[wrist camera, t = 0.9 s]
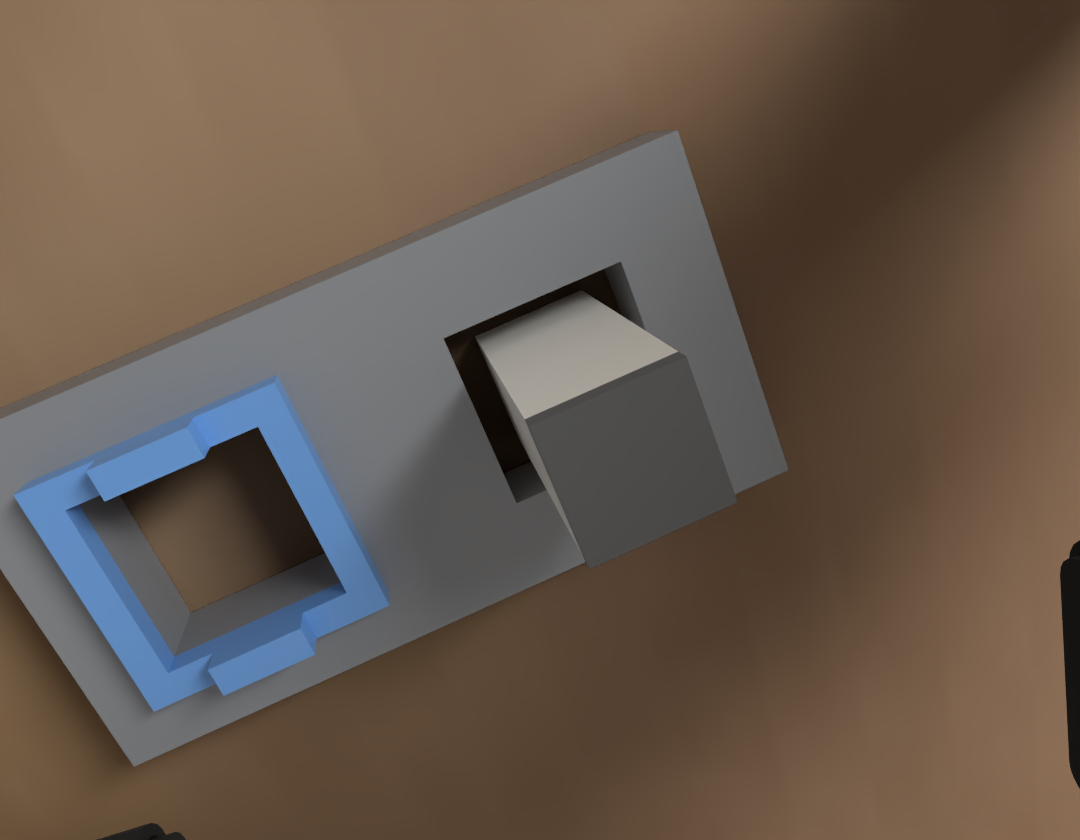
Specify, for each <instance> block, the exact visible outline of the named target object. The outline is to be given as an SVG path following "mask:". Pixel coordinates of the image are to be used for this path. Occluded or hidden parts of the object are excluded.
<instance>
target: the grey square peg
mask: <svg viewBox="0 0 1080 840" xmlns="http://www.w3.org/2000/svg"><path fill="white" fill-rule="evenodd" d="M475 338H476V340H477V343H478V345H479V347H480V350H481V352H482V354H483V356H484V359H485V361H486V363H487V366H488V368H489V370H490V373H491V375H492V377H493V380H494V382H495V384H496V387H497V389H498V391H499V394H500V396H501V398H502V401H503V403H504V405H505V408H506V410H507V412H508V414H509V417H510V419H511V421H512V424H513V426H514V428H515V431H516V433H517V435H518V438H519V440H520V441H521V443H522V445H523V447H524V449H525V451H526V452H527V454H528V456H529V458H530V460H531V462H532V464H533V465H534V467H535V469H536V471H537V473H538V475H539V477H540V478H541V480H542V482H543V484H544V486H545V488H546V490H547V491H548V493H549V495H550V497H551V499H552V501H553V502H554V504H555V506H556V508H557V510H558V512H559V514H560V515H561V517H562V519H563V521H564V523H565V525H566V527H567V528H568V530H569V532H570V534H571V536H572V538H573V540H574V541H575V543H576V545H577V547H578V549H579V551H580V552H581V554H582V556H583V558H584V560H585V562H586V564H587V565H588V567H589V569H592V568H594V567H597V566H599V565H601V564H603V563H605V562H608V561H610V560H612V559H614V558H616V557H619V556H621V555H623V554H625V553H627V552H630V551H632V550H634V549H636V548H638V547H641V546H643V545H645V544H647V543H649V542H652V541H654V540H656V539H658V538H660V537H663V536H665V535H667V534H669V533H671V532H674V531H676V530H678V529H680V528H682V527H685V526H687V525H689V524H691V523H693V522H696V521H698V520H700V519H702V518H704V517H707V516H709V515H711V514H713V513H716V512H718V511H720V510H722V509H724V508H727V507H729V506H731V505H733V504H735V503H738V501H737V499H736V496H735V493H734V490H733V487H732V484H731V482H730V479H729V476H728V473H727V470H726V467H725V465H724V462H723V459H722V456H721V453H720V450H719V447H718V445H717V442H716V439H715V436H714V433H713V430H712V428H711V425H710V422H709V419H708V416H707V413H706V411H705V408H704V405H703V402H702V399H701V396H700V393H699V391H698V388H697V385H696V382H695V379H694V376H693V374H692V371H691V368H690V365H689V362H688V359H687V357H686V356H685V355H683V354H681V353H680V352H678V351H677V350H675V349H674V348H672V347H670V346H669V345H667V344H666V343H664V342H663V341H661V340H659V339H658V338H656V337H655V336H653V335H651V334H650V333H648V332H647V331H645V330H644V329H642V328H640V327H639V326H637V325H636V324H634V323H633V322H631V321H629V320H628V319H626V318H625V317H623V316H621V315H620V314H618V313H617V312H615V311H614V310H612V309H610V308H609V307H607V306H606V305H604V304H603V303H601V302H599V301H598V300H596V299H595V298H593V297H592V296H590V295H588V294H587V293H585V292H584V291H582V290H580V291H578V292H576V293H573V294H571V295H569V296H566V297H564V298H562V299H560V300H557V301H555V302H553V303H550V304H548V305H546V306H544V307H541V308H539V309H537V310H534V311H532V312H530V313H527V314H525V315H523V316H521V317H518V318H516V319H514V320H511V321H509V322H507V323H504V324H502V325H500V326H498V327H495V328H493V329H491V330H488V331H486V332H484V333H481V334H479V335H477V336H475Z"/></svg>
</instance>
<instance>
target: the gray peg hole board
mask: <svg viewBox="0 0 1080 840" xmlns="http://www.w3.org/2000/svg"><path fill="white" fill-rule="evenodd" d="M602 269H605V272H606V275H607V278H608V280H609V283H610V286H611V288H612V291H613V294H614V296H615V299H616V302H617V304H618V307H619V310H620V313H621V315H622V316H623V317H625V318H626V319H628V320H629V321H631V322H633V323H634V324H636V325H637V326H639V327H640V328H642V329H644V330H645V331H647V332H648V333H650V334H651V335H653V336H655V337H656V338H658V339H659V340H661V341H663V342H664V343H666V344H667V345H669V346H670V347H672V348H674V349H675V350H677V351H678V352H680V353H681V354H683V355H685V356H686V357H687V359H688V362H689V365H690V368H691V371H692V374H693V376H694V379H695V382H696V385H697V388H698V391H699V393H700V396H701V399H702V402H703V405H704V408H705V411H706V413H707V416H708V419H709V422H710V425H711V428H712V430H713V433H714V436H715V439H716V442H717V445H718V447H719V450H720V453H721V456H722V459H723V462H724V465H725V467H726V470H727V473H728V476H729V479H730V482H731V484H732V487H733V490H734V493H735V494H737V493H739V492H741V491H744V490H746V489H748V488H750V487H752V486H755V485H757V484H759V483H761V482H763V481H766V480H768V479H770V478H772V477H774V476H777V475H779V474H781V473H783V472H785V471H788V466H787V463H786V460H785V457H784V454H783V451H782V448H781V445H780V442H779V439H778V436H777V433H776V430H775V427H774V424H773V421H772V417H771V414H770V411H769V408H768V405H767V402H766V399H765V396H764V393H763V390H762V387H761V384H760V381H759V378H758V375H757V372H756V369H755V365H754V362H753V359H752V356H751V353H750V350H749V347H748V344H747V341H746V338H745V335H744V332H743V329H742V326H741V323H740V320H739V316H738V313H737V310H736V307H735V304H734V301H733V298H732V295H731V292H730V289H729V286H728V283H727V280H726V277H725V274H724V271H723V267H722V264H721V261H720V258H719V255H718V252H717V249H716V246H715V243H714V240H713V237H712V234H711V231H710V228H709V225H708V222H707V218H706V215H705V212H704V209H703V206H702V203H701V200H700V197H699V194H698V191H697V188H696V185H695V182H694V179H693V176H692V173H691V170H690V166H689V163H688V160H687V157H686V154H685V151H684V148H683V145H682V142H681V139H680V136H679V133H678V130H671V131H657V132H648V133H645V134H643V135H641V136H638V137H636V138H634V139H631V140H629V141H627V142H624V143H622V144H620V145H617V146H615V147H613V148H610V149H608V150H606V151H603V152H601V153H599V154H596V155H594V156H592V157H589V158H587V159H584V160H582V161H580V162H577V163H575V164H573V165H570V166H568V167H566V168H563V169H561V170H559V171H556V172H554V173H552V174H549V175H547V176H545V177H542V178H540V179H538V180H535V181H533V182H531V183H528V184H526V185H523V186H521V187H519V188H516V189H514V190H512V191H509V192H507V193H505V194H502V195H500V196H498V197H495V198H493V199H491V200H488V201H486V202H484V203H481V204H479V205H477V206H474V207H472V208H470V209H467V210H465V211H462V212H460V213H458V214H455V215H453V216H451V217H448V218H446V219H444V220H441V221H439V222H437V223H434V224H432V225H430V226H427V227H425V228H423V229H420V230H418V231H416V232H413V233H411V234H409V235H406V236H404V237H401V238H399V239H397V240H394V241H392V242H390V243H387V244H385V245H383V246H380V247H378V248H376V249H373V250H371V251H369V252H366V253H364V254H362V255H359V256H357V257H355V258H352V259H350V260H347V261H345V262H343V263H340V264H338V265H336V266H333V267H331V268H329V269H326V270H324V271H322V272H319V273H317V274H315V275H312V276H310V277H308V278H305V279H303V280H301V281H298V282H296V283H294V284H291V285H289V286H286V287H284V288H282V289H279V290H277V291H275V292H272V293H270V294H268V295H265V296H263V297H261V298H258V299H256V300H254V301H251V302H249V303H247V304H244V305H242V306H240V307H237V308H235V309H233V310H230V311H228V312H225V313H223V314H221V315H218V316H216V317H214V318H211V319H209V320H207V321H204V322H202V323H200V324H197V325H195V326H193V327H190V328H188V329H186V330H183V331H181V332H179V333H176V334H174V335H172V336H169V337H167V338H164V339H162V340H160V341H157V342H155V343H153V344H150V345H148V346H146V347H143V348H141V349H139V350H136V351H134V352H132V353H129V354H127V355H125V356H122V357H120V358H118V359H115V360H113V361H111V362H108V363H106V364H103V365H101V366H99V367H96V368H94V369H92V370H89V371H87V372H85V373H82V374H80V375H78V376H75V377H73V378H71V379H68V380H66V381H64V382H61V383H59V384H57V385H54V386H52V387H49V388H47V389H45V390H42V391H40V392H38V393H35V394H33V395H31V396H28V397H26V398H24V399H21V400H19V401H17V402H14V403H12V404H10V405H7V406H5V407H3V408H0V569H1V571H2V572H3V574H4V575H5V577H6V578H7V580H8V581H9V583H10V584H11V586H12V587H13V589H14V590H15V592H16V593H17V595H18V596H19V597H20V599H21V600H22V602H23V603H24V605H25V606H26V608H27V609H28V611H29V612H30V614H31V615H32V617H33V618H34V620H35V621H36V623H37V624H38V626H39V627H40V629H41V630H42V632H43V633H44V635H45V636H46V637H47V639H48V640H49V642H50V643H51V645H52V646H53V648H54V649H55V651H56V652H57V654H58V655H59V657H60V658H61V660H62V661H63V663H64V664H65V666H66V667H67V669H68V670H69V672H70V673H71V674H72V676H73V677H74V679H75V680H76V682H77V683H78V685H79V686H80V688H81V689H82V691H83V692H84V694H85V695H86V697H87V698H88V700H89V701H90V703H91V704H92V706H93V707H94V709H95V710H96V711H97V713H98V714H99V716H100V717H101V719H102V720H103V722H104V723H105V725H106V726H107V728H108V729H109V731H110V732H111V734H112V735H113V737H114V738H115V740H116V741H117V743H118V744H119V746H120V747H121V748H122V750H123V751H124V753H125V754H126V756H127V757H128V759H129V760H130V762H131V763H132V765H133V766H134V767H135V766H137V765H139V764H141V763H144V762H146V761H148V760H150V759H152V758H155V757H157V756H159V755H161V754H163V753H166V752H168V751H170V750H172V749H174V748H177V747H179V746H181V745H183V744H185V743H188V742H190V741H192V740H194V739H196V738H199V737H201V736H203V735H205V734H208V733H210V732H212V731H214V730H216V729H219V728H221V727H223V726H225V725H227V724H230V723H232V722H234V721H236V720H238V719H241V718H243V717H245V716H247V715H249V714H252V713H254V712H256V711H258V710H260V709H263V708H265V707H267V706H269V705H271V704H274V703H276V702H278V701H280V700H283V699H285V698H287V697H289V696H291V695H294V694H296V693H298V692H300V691H302V690H305V689H307V688H309V687H311V686H313V685H316V684H318V683H320V682H322V681H324V680H327V679H329V678H331V677H333V676H335V675H338V674H340V673H342V672H344V671H346V670H349V669H351V668H353V667H355V666H358V665H360V664H362V663H364V662H366V661H369V660H371V659H373V658H375V657H377V656H380V655H382V654H384V653H386V652H388V651H391V650H393V649H395V648H397V647H399V646H402V645H404V644H406V643H408V642H410V641H413V640H415V639H417V638H419V637H421V636H424V635H426V634H428V633H430V632H433V631H435V630H437V629H439V628H441V627H444V626H446V625H448V624H450V623H452V622H455V621H457V620H459V619H461V618H463V617H466V616H468V615H470V614H472V613H474V612H477V611H479V610H481V609H483V608H485V607H488V606H490V605H492V604H494V603H496V602H499V601H501V600H503V599H505V598H508V597H510V596H512V595H514V594H516V593H519V592H521V591H523V590H525V589H527V588H530V587H532V586H534V585H536V584H538V583H541V582H543V581H545V580H547V579H549V578H552V577H554V576H556V575H558V574H560V573H563V572H565V571H567V570H569V569H571V568H574V567H576V566H578V565H580V564H583V563H585V560H584V558H583V556H582V554H581V552H580V551H579V549H578V547H577V545H576V543H575V541H574V540H573V538H572V536H571V534H570V532H569V530H568V528H567V527H566V525H565V523H564V521H563V519H562V517H561V515H560V514H559V512H558V510H557V508H556V506H555V504H554V502H553V501H552V499H551V497H550V495H549V493H548V491H547V490H546V488H545V486H544V484H543V482H542V480H541V478H540V477H539V475H538V473H537V471H536V469H535V467H534V465H533V464H532V462H531V461H530V462H528V463H526V464H524V465H521V466H519V467H517V468H515V469H512V470H510V471H508V472H506V473H503V471H502V469H501V466H500V464H499V462H498V460H497V457H496V455H495V453H494V451H493V448H492V446H491V444H490V442H489V439H488V437H487V435H486V433H485V430H484V428H483V426H482V424H481V421H480V419H479V417H478V415H477V412H476V410H475V408H474V406H473V403H472V401H471V399H470V397H469V394H468V392H467V390H466V388H465V385H464V383H463V381H462V379H461V376H460V374H459V372H458V370H457V367H456V365H455V363H454V361H453V358H452V356H451V354H450V352H449V349H448V347H447V345H446V342H445V340H444V338H446V337H448V336H450V335H453V334H455V333H457V332H460V331H462V330H464V329H466V328H469V327H471V326H473V325H476V324H478V323H480V322H483V321H485V320H487V319H489V318H492V317H494V316H496V315H499V314H501V313H503V312H506V311H508V310H510V309H513V308H515V307H517V306H519V305H522V304H524V303H526V302H529V301H531V300H533V299H536V298H538V297H540V296H542V295H545V294H547V293H549V292H552V291H554V290H556V289H559V288H561V287H563V286H565V285H568V284H570V283H572V282H575V281H577V280H579V279H582V278H584V277H586V276H589V275H591V274H593V273H595V272H598V271H600V270H602ZM256 427H258V428H259V430H260V431H261V433H262V435H263V437H264V439H265V441H266V443H267V445H268V446H269V448H270V450H271V452H272V454H273V456H274V458H275V460H276V461H277V463H278V465H279V467H280V469H281V471H282V473H283V475H284V476H285V478H286V480H287V482H288V484H289V486H290V488H291V490H292V491H293V493H294V495H295V497H296V499H297V501H298V503H299V505H300V506H301V508H302V510H303V512H304V514H305V516H306V518H307V520H308V521H309V523H310V525H311V527H312V529H313V531H314V533H315V535H316V536H317V538H318V540H319V542H320V544H321V546H322V548H323V550H324V551H325V553H324V554H321V555H319V556H317V557H315V558H312V559H310V560H308V561H306V562H303V563H301V564H299V565H297V566H294V567H292V568H290V569H288V570H285V571H283V572H281V573H279V574H276V575H274V576H272V577H270V578H267V579H265V580H263V581H261V582H259V583H256V584H254V585H252V586H250V587H247V588H245V589H243V590H241V591H238V592H236V593H234V594H232V595H229V596H227V597H225V598H223V599H220V600H218V601H216V602H214V603H211V604H209V605H207V606H205V607H202V608H200V609H198V610H196V611H193V612H190V610H189V609H188V607H187V605H186V604H185V602H184V601H183V599H182V597H181V596H180V594H179V592H178V591H177V589H176V587H175V586H174V584H173V582H172V581H171V579H170V577H169V576H168V574H167V572H166V571H165V569H164V567H163V566H162V564H161V563H160V561H159V559H158V558H157V556H156V554H155V553H154V551H153V549H152V548H151V546H150V544H149V543H148V541H147V539H146V538H145V536H144V534H143V533H142V531H141V530H140V528H139V526H138V525H137V523H136V521H135V520H134V518H133V516H132V515H131V513H130V511H129V510H128V508H127V506H126V505H125V503H124V501H123V500H122V498H121V497H120V495H121V494H123V493H126V492H128V491H130V490H133V489H135V488H137V487H139V486H142V485H144V484H146V483H149V482H151V481H153V480H155V479H158V478H160V477H162V476H165V475H167V474H169V473H172V472H174V471H176V470H178V469H181V468H183V467H185V466H188V465H190V464H192V463H195V462H197V461H199V460H201V459H204V458H205V456H206V454H207V453H208V451H209V449H210V447H212V446H215V445H217V444H219V443H222V442H224V441H226V440H228V439H231V438H233V437H235V436H238V435H240V434H242V433H245V432H247V431H249V430H251V429H254V428H256Z"/></svg>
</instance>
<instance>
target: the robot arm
mask: <svg viewBox="0 0 1080 840" xmlns="http://www.w3.org/2000/svg"><path fill="white" fill-rule="evenodd" d="M1060 580H1061V600H1062V621H1063V641H1064V661H1065V681H1066V702H1067V722H1068V742H1069V762H1070V768H1071V771H1072V774H1073V777H1074V779H1075V781H1076V783H1077V785H1078V787H1079V788H1080V541H1078V542H1077V543H1075V544H1074V545H1073V547H1072V549H1071V551H1070V557H1069V559H1067V560H1065V561H1064V562H1063V564H1062V566H1061V571H1060ZM97 840H185V838H184V836H183V835H182V834H181V833H179V832H174V833H171V834H167V835H165V833H164V831H163V829H162V828H161V827H160V826H158V825H157V824H154V823H150V824H147V825H143V826H140V827H137V828H133V829H130V830H127V831H124V832H120V833H117V834H114V835H110V836H107V837H104V838H101V839H97Z"/></svg>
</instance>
